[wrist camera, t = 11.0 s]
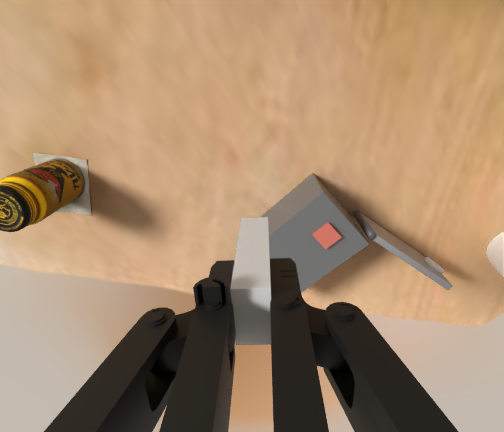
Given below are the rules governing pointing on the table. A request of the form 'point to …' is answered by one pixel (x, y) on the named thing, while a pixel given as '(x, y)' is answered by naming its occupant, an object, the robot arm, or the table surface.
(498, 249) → the foam cup
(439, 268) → the side door
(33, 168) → the condiment
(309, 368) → the robot arm
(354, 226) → the camera box
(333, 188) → the table surface
